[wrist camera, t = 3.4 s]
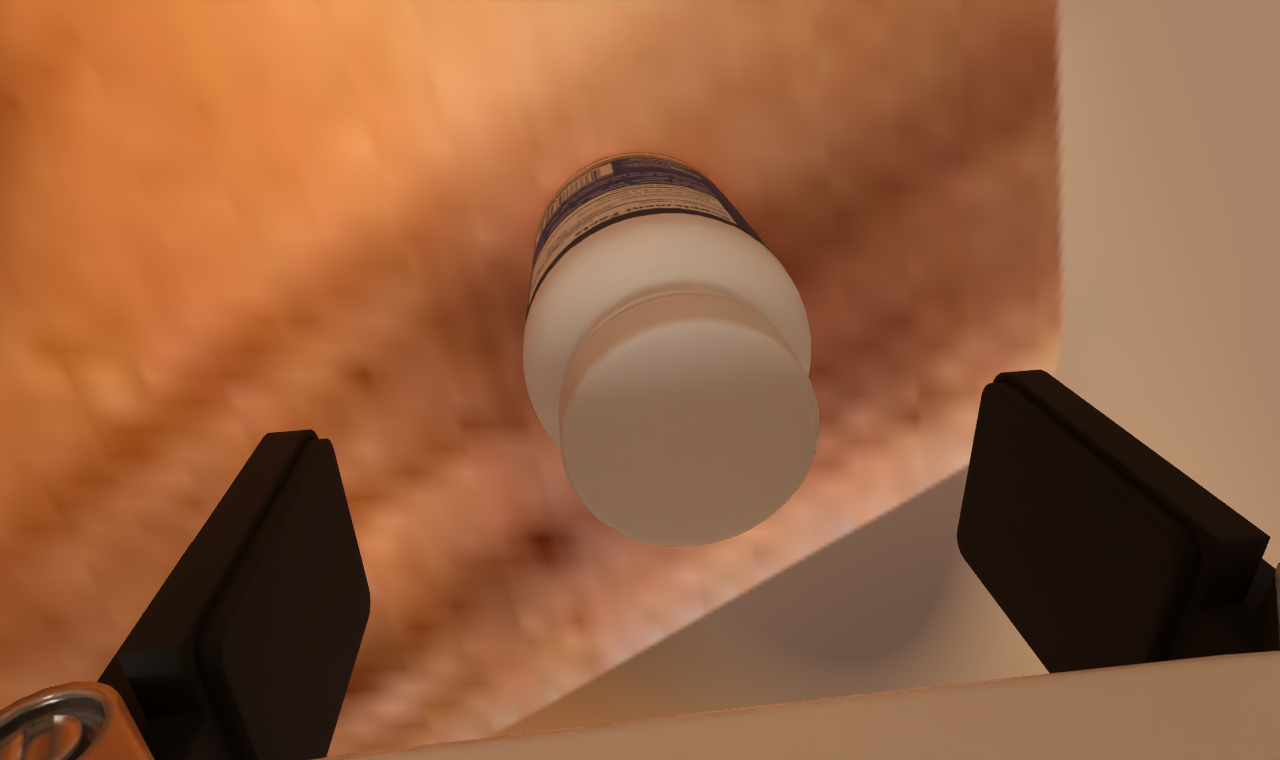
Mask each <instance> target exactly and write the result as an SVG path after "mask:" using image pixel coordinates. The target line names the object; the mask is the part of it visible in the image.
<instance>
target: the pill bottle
mask: <svg viewBox="0 0 1280 760" xmlns="http://www.w3.org/2000/svg"><path fill="white" fill-rule="evenodd" d="M810 363H811V336H810V328H809V323H808V318H807V314H806V310H805V307H804V304H803V302H802V299H801V297H800V294H799V292H798V290H797V288H796V286H795V284H794V283H793V281H792V279H791V278H790V276H789V275H788V273H787V272H786V270H785V269H784V267H783V266H782V264H781V263H780V262H779V260H778V259H777V258H776V257H775V256H774V255H773V253H772V252H771V251H770V250H769V249H768V247H767V246H766V245H765V244H764V243H763V242H762V240H761V239H760V238H759V237H758V235H757V234H756V233H755V232H754V231H753V229H752V228H751V227H750V226H749V225H748V223H747V222H746V221H745V220H744V219H743V217H742V216H741V215H740V214H739V213H738V211H737V210H736V209H735V208H734V207H733V205H732V204H731V203H730V202H729V201H728V199H727V198H726V197H725V196H724V194H723V193H722V192H721V191H720V190H719V189H718V188H717V187H716V186H715V185H714V184H713V183H712V182H711V181H710V180H709V179H708V178H707V177H705V176H704V175H703V174H702V173H700V172H699V171H697V170H696V169H695V168H693V167H691V166H689V165H687V164H686V163H684V162H681V161H679V160H676V159H673V158H671V157H667V156H663V155H658V154H651V153H627V154H621V155H616V156H612V157H608V158H605V159H603V160H600V161H597V162H595V163H593V164H591V165H589V166H587V167H586V168H584V169H582V170H581V171H580V172H578V173H577V174H575V175H574V176H573V177H572V178H570V179H569V180H568V181H567V182H566V183H565V184H564V185H563V186H562V187H561V188H560V189H559V191H558V192H557V193H556V194H555V195H554V197H553V198H552V200H551V202H550V203H549V205H548V206H547V208H546V210H545V212H544V215H543V217H542V219H541V222H540V225H539V228H538V232H537V236H536V241H535V248H534V258H533V267H532V275H531V283H530V291H529V299H528V307H527V313H526V323H525V331H524V341H523V369H524V378H525V383H526V387H527V391H528V395H529V397H530V400H531V403H532V406H533V409H534V411H535V413H536V415H537V417H538V419H539V421H540V422H541V424H542V426H543V428H544V429H545V431H546V432H547V433H548V435H549V436H550V437H551V439H552V440H553V441H554V442H555V443H556V445H557V446H558V447H559V448H560V449H561V454H562V460H563V465H564V468H565V471H566V475H567V477H568V480H569V482H570V484H571V486H572V488H573V490H574V491H575V493H576V495H577V496H578V498H579V499H580V500H581V502H582V503H583V504H584V505H585V506H586V507H587V509H588V510H589V511H590V512H591V513H592V514H593V515H595V516H596V517H597V518H598V519H599V520H600V521H602V522H603V523H605V524H606V525H607V526H609V527H610V528H612V529H614V530H615V531H617V532H619V533H621V534H623V535H625V536H627V537H630V538H632V539H636V540H639V541H642V542H646V543H650V544H656V545H664V546H698V545H704V544H709V543H714V542H718V541H722V540H725V539H728V538H731V537H734V536H737V535H739V534H741V533H743V532H745V531H748V530H750V529H752V528H753V527H755V526H757V525H758V524H760V523H761V522H763V521H764V520H766V519H767V518H769V517H770V516H771V515H772V514H773V513H775V512H776V511H777V510H778V509H779V508H781V507H782V506H783V505H784V504H785V503H786V502H787V501H788V500H789V498H790V497H791V496H792V495H793V494H794V492H795V491H796V490H797V489H798V488H799V486H800V485H801V483H802V482H803V480H804V478H805V476H806V474H807V472H808V470H809V468H810V466H811V464H812V461H813V458H814V455H815V452H816V448H817V443H818V436H819V409H818V405H817V399H816V396H815V392H814V389H813V387H812V385H811V382H810V380H809V378H808V375H809V370H810Z"/></svg>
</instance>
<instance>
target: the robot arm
mask: <svg viewBox="0 0 1280 760" xmlns="http://www.w3.org/2000/svg"><path fill="white" fill-rule="evenodd" d="M1269 539H1270V536H1268V535H1267V534H1265V533H1264V532H1263V531H1262V530H1260V529H1259V528H1257V527H1256V526H1255V525H1253V524H1252V523H1251V522H1249V521H1248V520H1247V519H1245V518H1244V517H1243V516H1241V515H1240V514H1238V513H1237V512H1236V511H1234V510H1233V509H1232V508H1230V507H1229V506H1228V505H1226V504H1225V503H1224V502H1222V501H1221V500H1219V499H1218V498H1217V497H1215V496H1214V495H1213V494H1211V493H1210V492H1209V491H1207V490H1206V489H1205V488H1203V487H1202V486H1200V485H1199V484H1198V483H1196V482H1195V481H1194V480H1192V479H1191V478H1190V477H1188V476H1187V475H1185V474H1184V473H1183V472H1181V471H1180V470H1179V469H1177V468H1176V467H1175V466H1173V465H1172V464H1170V463H1169V462H1168V461H1166V460H1165V459H1164V458H1162V457H1161V456H1160V455H1158V454H1157V453H1156V452H1154V451H1153V450H1151V449H1150V448H1149V447H1147V446H1146V445H1145V444H1143V443H1142V442H1141V441H1139V440H1138V439H1136V438H1135V437H1134V436H1133V435H1131V434H1130V433H1128V432H1127V431H1126V430H1124V429H1123V428H1122V427H1120V426H1119V425H1118V424H1116V423H1115V422H1113V421H1112V420H1111V419H1109V418H1108V417H1107V416H1105V415H1104V414H1103V413H1101V412H1100V411H1099V410H1097V409H1096V408H1094V407H1093V406H1092V405H1090V404H1089V403H1087V402H1086V401H1085V400H1083V399H1082V398H1081V397H1080V396H1078V395H1077V394H1075V393H1074V392H1073V391H1071V390H1070V389H1069V388H1067V387H1066V386H1064V385H1063V384H1062V383H1060V382H1059V381H1058V380H1056V379H1055V378H1054V377H1052V376H1051V375H1050V374H1048V373H1047V372H1045V371H1043V370H1029V371H1017V372H1005V373H1000V374H999V375H997V376H996V378H995V379H994V381H993V383H989V384H988V385H986V386H985V388H984V389H983V392H982V396H981V402H980V407H979V413H978V419H977V424H976V430H975V435H974V441H973V446H972V452H971V457H970V463H969V469H968V475H967V480H966V485H965V492H964V496H963V502H962V508H961V513H960V519H959V524H958V531H957V542H958V546H959V550H960V552H961V554H962V556H963V558H964V559H965V561H966V562H967V563H968V564H969V566H970V567H971V568H972V570H973V571H974V573H975V574H976V575H977V577H978V578H979V579H980V580H981V582H982V583H983V585H984V586H985V587H986V588H987V590H988V591H989V593H990V594H991V595H992V597H993V598H994V599H995V601H996V602H997V603H998V605H999V606H1000V607H1001V609H1002V610H1003V611H1004V613H1005V614H1006V615H1007V617H1008V618H1009V619H1010V621H1011V622H1012V623H1013V625H1014V626H1015V627H1016V629H1017V630H1018V631H1019V633H1020V634H1021V635H1022V637H1023V638H1024V639H1025V641H1026V642H1027V643H1028V645H1029V646H1030V647H1031V649H1032V650H1033V651H1034V653H1035V654H1036V655H1037V657H1038V658H1039V659H1040V661H1041V662H1042V663H1043V665H1044V666H1045V667H1046V669H1047V670H1048V671H1049V673H1050V674H1042V675H1032V676H1023V677H1014V678H1005V679H996V680H987V681H977V682H969V683H959V684H950V685H942V686H931V687H923V688H914V689H904V690H895V691H887V692H878V693H869V694H860V695H851V696H842V697H833V698H825V699H816V700H807V701H798V702H789V703H781V704H772V705H763V706H754V707H745V708H737V709H728V710H719V711H710V712H701V713H693V714H684V715H675V716H666V717H659V718H649V719H641V720H633V721H624V722H617V723H608V724H599V725H591V726H582V727H574V728H565V729H557V730H548V731H540V732H532V733H523V734H515V735H506V736H498V737H489V738H481V739H473V740H464V741H456V742H447V743H439V744H430V745H422V746H414V747H405V748H397V749H388V750H380V751H372V752H363V753H355V754H346V755H339V756H332V757H326V756H327V753H328V750H329V746H330V743H331V740H332V737H333V733H334V730H335V727H336V723H337V720H338V717H339V713H340V710H341V707H342V704H343V700H344V697H345V694H346V690H347V687H348V684H349V681H350V677H351V674H352V671H353V667H354V664H355V661H356V657H357V654H358V651H359V648H360V644H361V641H362V638H363V634H364V631H365V628H366V624H367V621H368V618H369V613H370V592H369V587H368V583H367V579H366V575H365V571H364V567H363V563H362V559H361V555H360V551H359V547H358V543H357V539H356V535H355V531H354V527H353V523H352V519H351V515H350V511H349V508H348V504H347V500H346V496H345V492H344V488H343V484H342V480H341V476H340V472H339V468H338V464H337V460H336V456H335V452H334V448H333V445H332V443H331V441H330V440H329V439H318V436H317V435H316V433H315V432H314V431H313V430H299V431H287V432H275V433H267V434H266V435H265V436H264V437H263V439H262V440H261V442H260V443H259V445H258V446H257V448H256V449H255V451H254V452H253V453H252V455H251V456H250V458H249V459H248V461H247V462H246V464H245V465H244V467H243V468H242V470H241V471H240V473H239V474H238V476H237V477H236V479H235V480H234V482H233V483H232V484H231V486H230V487H229V489H228V490H227V492H226V493H225V495H224V496H223V498H222V499H221V501H220V502H219V504H218V505H217V507H216V508H215V510H214V511H213V513H212V514H211V516H210V517H209V518H208V520H207V521H206V523H205V524H204V526H203V527H202V529H201V530H200V532H199V533H198V535H197V536H196V538H195V539H194V541H193V542H192V543H191V544H190V545H189V547H188V548H187V550H186V551H185V553H184V554H183V556H182V557H181V559H180V560H179V562H178V563H177V565H176V566H175V568H174V569H173V571H172V572H171V574H170V575H169V576H168V578H167V579H166V581H165V582H164V584H163V585H162V587H161V588H160V590H159V591H158V593H157V594H156V596H155V597H154V599H153V600H152V602H151V603H150V604H149V606H148V607H147V609H146V610H145V612H144V613H143V615H142V616H141V618H140V619H139V621H138V622H137V624H136V625H135V627H134V628H133V630H132V631H131V632H130V634H129V635H128V637H127V638H126V640H125V641H124V643H123V644H122V646H121V647H120V649H119V650H118V652H117V653H116V655H115V656H114V658H113V659H112V661H111V662H110V663H109V665H108V666H107V668H106V669H105V671H104V672H103V674H102V675H101V677H100V678H99V680H98V681H97V682H95V681H88V682H70V683H66V684H62V685H58V686H54V687H50V688H46V689H43V690H41V691H39V692H36V693H34V694H31V695H29V696H27V697H24V698H22V699H20V700H17V701H16V702H14V703H12V704H11V705H9V706H7V707H5V708H4V709H2V710H0V760H1280V563H1279V564H1278V565H1277V568H1276V569H1275V568H1274V567H1272V566H1271V565H1270V564H1268V563H1267V562H1266V561H1265V560H1263V559H1262V557H1263V554H1264V552H1265V549H1266V547H1267V544H1268V542H1269Z"/></svg>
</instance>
